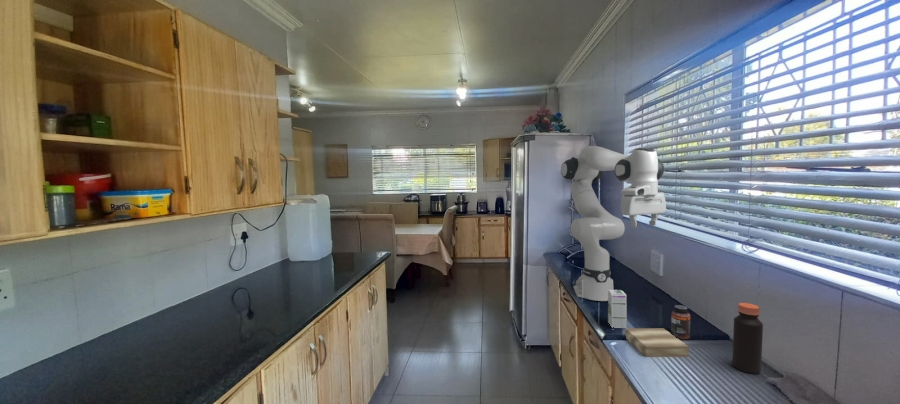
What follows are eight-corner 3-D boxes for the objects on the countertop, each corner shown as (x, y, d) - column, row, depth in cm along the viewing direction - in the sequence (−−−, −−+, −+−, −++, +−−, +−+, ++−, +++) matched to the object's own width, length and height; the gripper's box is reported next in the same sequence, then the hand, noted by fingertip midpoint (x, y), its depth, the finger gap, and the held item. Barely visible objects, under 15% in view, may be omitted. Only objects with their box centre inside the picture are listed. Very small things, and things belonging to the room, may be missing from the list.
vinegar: (730, 360, 110) (732, 300, 109) (757, 366, 107) (760, 303, 106) (734, 370, 104) (737, 307, 103) (763, 376, 101) (766, 311, 100)
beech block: (625, 338, 127) (625, 328, 127) (663, 338, 127) (663, 328, 127) (645, 358, 113) (646, 346, 113) (688, 358, 113) (688, 346, 113)
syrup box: (627, 330, 133) (627, 294, 132) (610, 329, 134) (611, 293, 133) (622, 324, 138) (623, 289, 138) (607, 323, 140) (607, 289, 139)
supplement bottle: (687, 333, 130) (687, 304, 129) (692, 340, 124) (693, 310, 123) (669, 331, 132) (669, 303, 131) (673, 338, 126) (674, 308, 125)
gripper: (655, 189, 137) (655, 223, 137) (617, 190, 129) (617, 226, 130) (671, 189, 131) (670, 225, 131) (632, 190, 123) (631, 228, 124)
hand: (643, 226), depth 131 cm, fingers open, 8 cm apart
